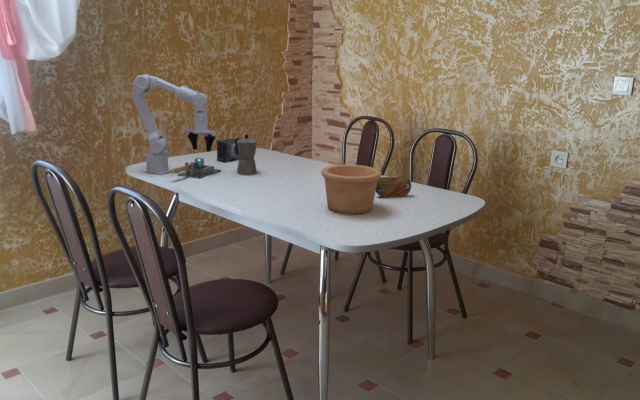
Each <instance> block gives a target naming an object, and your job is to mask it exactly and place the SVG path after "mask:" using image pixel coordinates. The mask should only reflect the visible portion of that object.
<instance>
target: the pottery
mask: <svg viewBox="0 0 640 400" xmlns="http://www.w3.org/2000/svg"><path fill="white" fill-rule="evenodd" d="M320 172H321V176H322V177H323V179H324V185H325V194H326V195H325V196H326V203H327V208H328V210H329V211H331V212H333V213H336V214H340V215H346V214H347V215H346V216H348V215H349V216H357V215H364V214H365V215H366V214H368V213H371V212H372V211H373V205H374V200H375V195H376V186H377V181H378V179H380V178H381V177H382V171H381V170H380V169H378V168H375V167H372V166H368V165H361V164H335V165H329V166H325V167H323V168H322V170H321V171H320Z"/></svg>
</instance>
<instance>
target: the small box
mask: <svg viewBox="0 0 640 400" xmlns="http://www.w3.org/2000/svg"><path fill="white" fill-rule="evenodd" d="M235 140H236V138H226V139H219V140H217V141H216V161H218V162H221V163H229V162H234V161H239V159H240V156H239V155H238V154H237V150H236V145H235Z"/></svg>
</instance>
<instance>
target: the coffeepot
mask: <svg viewBox="0 0 640 400" xmlns="http://www.w3.org/2000/svg"><path fill="white" fill-rule="evenodd" d="M244 137H245V138H241V137H236V138H235V139H236V140H235V145H236V150H237V154H238V155H239V156H240V159H239V160H238V164H237V170H236V173H237V175H241V176H254V175H256V174H257V173H258V171H257V164H256V160H255V156H256V151H257V144H258V141H257V140H255V139H252V138H249V134H244Z"/></svg>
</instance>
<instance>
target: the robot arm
mask: <svg viewBox="0 0 640 400" xmlns="http://www.w3.org/2000/svg"><path fill="white" fill-rule="evenodd" d="M155 88H160V89H162V90H165V91H168V92H170V93H173V94H175V95H176V97H177V99H180V100H182V101H185V102H187V103H189V104H193V109H194V110H193V120H194V122H193V123H194V128H187V129H186V134H187V136H186V137H187V138H188V139H189V141H190V143H191V147H192V150H194V151H195V150H198V138H199V137H198V136H200V135H201V136H202V135H203V136H204V141H205V144H206V152H207V153H208V152H211V149H212V146H213V143H214V141H215V138H216V136H217V133H216V132H217V131H215V130H210V129H208V107H207V103H208V97H207V95H206V94H204V93H203V92H199V91H198V90H193V89H191V88H189V86H188V85H181V86H177V85H174V84H173V83H170V82H168V81H166V80H164V79H162V78H159V77H158V76H155V75H151V74H147V73H144V74H140V75H137V76H135V78H134V80H133V82H132V93H131V99H132V101H133V104H134V106H135V108H136V110H137V112H138V115H139V117H140V119H141V122H142V124H143V126H144V129H145V130H146V133H147V135H148V136H147V137H148V142H149V149H150V151H149V152H147V153H146V156H145V166H146V170H145V173H150V174H157V175H164V174H167V173H170V172H171V170H172V169H169V157H168V156H169V154H168V150H167V148H168V146H169V144H168V143H169V142H168V139H166V138H165V137H164V135H163V133H162V132H161V131H160V130H159V128H158V126H157V123H156V120H155V118H154V116H153V113H152V111H151V109H150V107H149V104H148V102H147V99H146V95H147V93H148V92H149V91H150V89H155Z"/></svg>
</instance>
